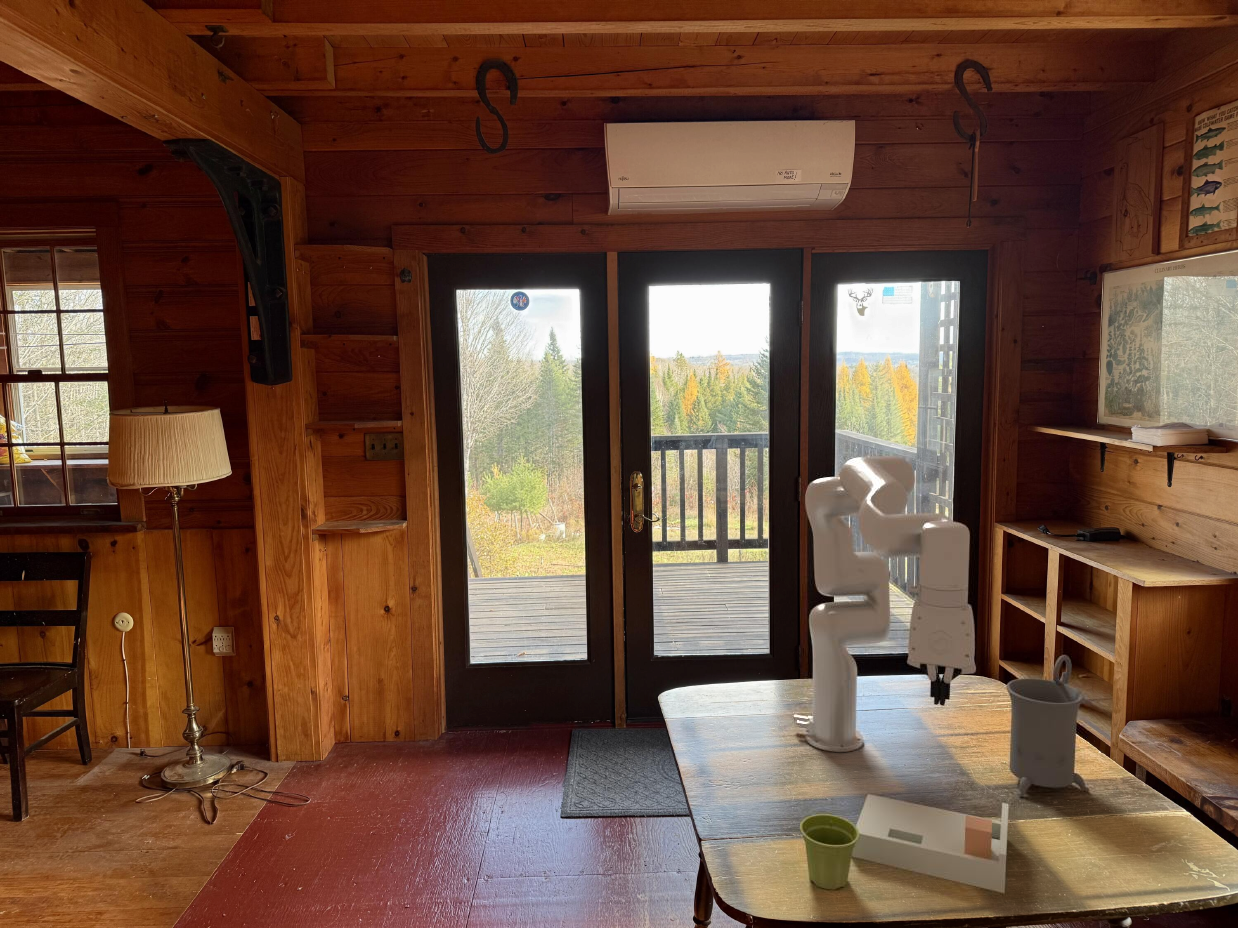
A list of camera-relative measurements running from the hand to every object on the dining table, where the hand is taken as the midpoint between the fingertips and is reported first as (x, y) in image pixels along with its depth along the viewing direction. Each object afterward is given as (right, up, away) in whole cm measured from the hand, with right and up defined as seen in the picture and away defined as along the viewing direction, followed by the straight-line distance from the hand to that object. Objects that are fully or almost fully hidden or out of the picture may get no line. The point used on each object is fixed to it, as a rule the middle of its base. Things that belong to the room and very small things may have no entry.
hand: (939, 701), depth 140 cm
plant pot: (-20, -28, -4) cm, 35 cm away
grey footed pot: (+31, -24, +27) cm, 48 cm away
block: (+5, -24, -2) cm, 25 cm away
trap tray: (0, -27, +5) cm, 27 cm away
